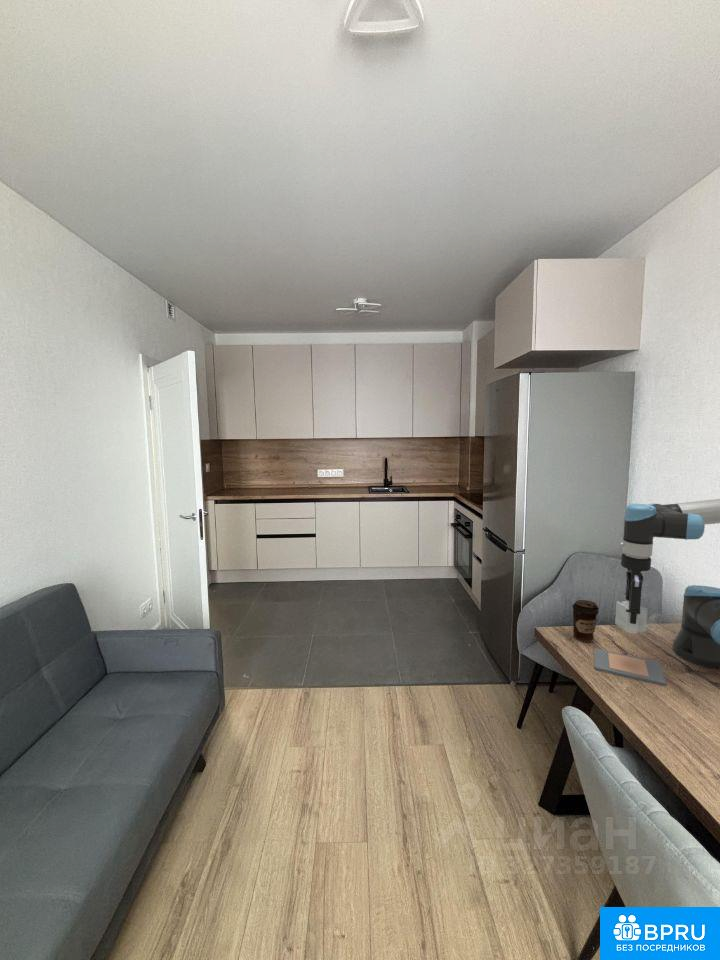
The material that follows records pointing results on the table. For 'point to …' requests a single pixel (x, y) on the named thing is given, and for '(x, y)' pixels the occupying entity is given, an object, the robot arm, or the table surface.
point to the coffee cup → (584, 620)
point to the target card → (629, 666)
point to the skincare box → (622, 615)
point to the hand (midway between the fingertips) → (630, 626)
